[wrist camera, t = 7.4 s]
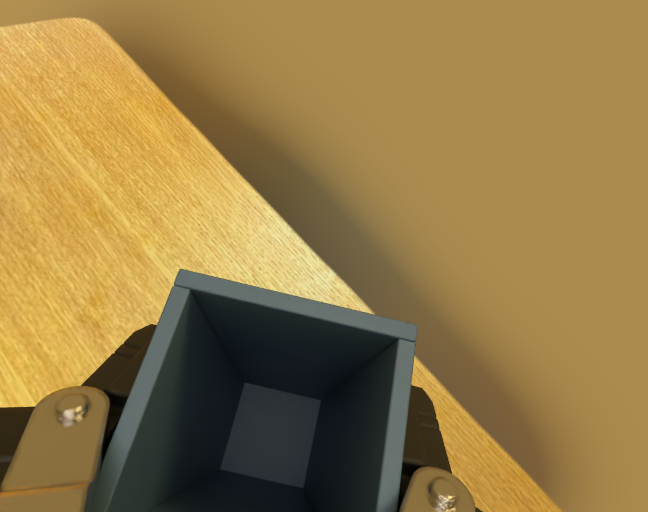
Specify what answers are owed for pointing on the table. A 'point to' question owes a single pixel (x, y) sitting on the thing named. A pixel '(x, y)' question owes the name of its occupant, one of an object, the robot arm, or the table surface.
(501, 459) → the table surface
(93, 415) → the robot arm
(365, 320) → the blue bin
